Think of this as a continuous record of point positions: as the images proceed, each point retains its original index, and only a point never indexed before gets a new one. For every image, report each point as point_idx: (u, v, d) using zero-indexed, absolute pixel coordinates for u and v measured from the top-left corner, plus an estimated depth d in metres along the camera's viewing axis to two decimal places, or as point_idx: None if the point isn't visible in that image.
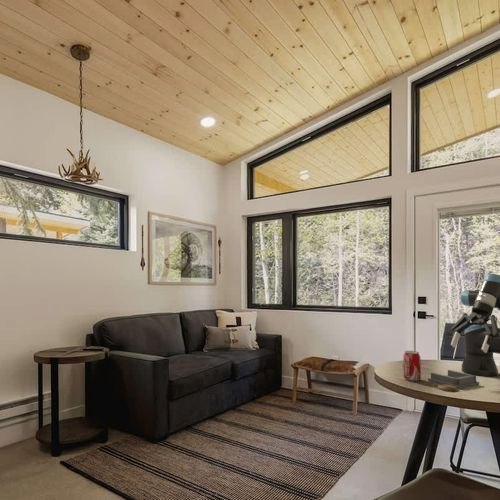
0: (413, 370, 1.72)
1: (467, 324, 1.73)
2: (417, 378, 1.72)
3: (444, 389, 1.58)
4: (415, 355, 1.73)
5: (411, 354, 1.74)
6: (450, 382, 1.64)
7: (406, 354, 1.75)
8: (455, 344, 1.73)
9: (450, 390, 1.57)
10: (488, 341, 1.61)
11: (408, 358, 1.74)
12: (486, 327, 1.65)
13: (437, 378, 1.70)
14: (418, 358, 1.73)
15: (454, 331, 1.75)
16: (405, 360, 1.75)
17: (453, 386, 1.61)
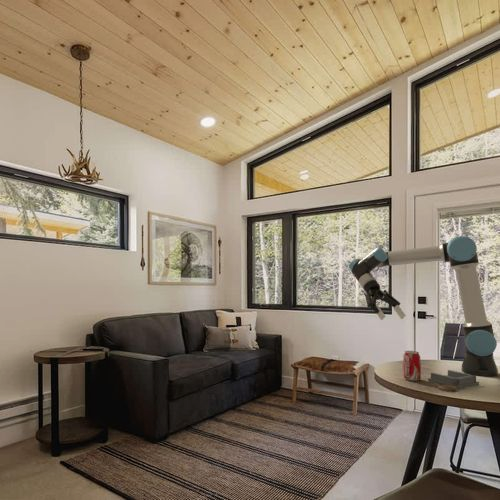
0: (413, 370, 1.72)
1: (385, 300, 1.95)
2: (417, 378, 1.72)
3: (444, 389, 1.58)
4: (415, 355, 1.73)
5: (411, 354, 1.74)
6: (450, 382, 1.64)
7: (406, 354, 1.75)
8: (402, 313, 1.90)
9: (450, 390, 1.57)
10: None
11: (408, 358, 1.74)
12: None
13: (437, 378, 1.70)
14: (418, 358, 1.73)
15: None
16: (405, 360, 1.75)
17: (453, 386, 1.61)
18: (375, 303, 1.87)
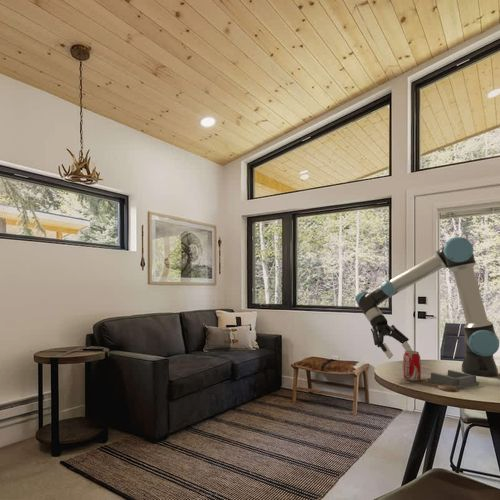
0: (413, 370, 1.72)
1: (393, 336, 1.89)
2: (417, 378, 1.72)
3: (444, 389, 1.58)
4: (415, 355, 1.73)
5: (411, 354, 1.74)
6: (450, 382, 1.64)
7: (406, 354, 1.75)
8: None
9: (450, 390, 1.57)
10: None
11: (408, 358, 1.74)
12: None
13: (437, 378, 1.70)
14: (418, 358, 1.73)
15: None
16: (405, 360, 1.75)
17: (453, 386, 1.61)
18: (382, 341, 1.81)
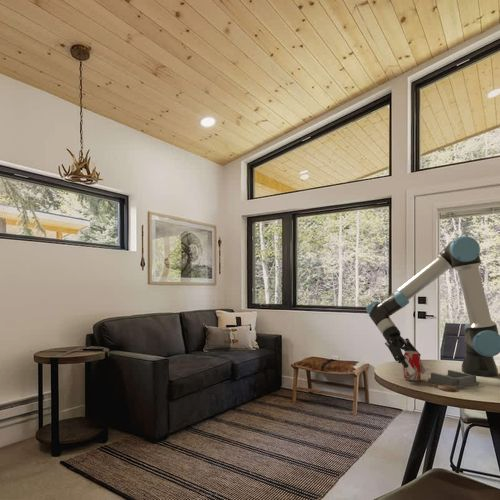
0: None
1: (405, 349, 1.82)
2: (417, 378, 1.72)
3: (444, 389, 1.58)
4: (415, 355, 1.73)
5: (411, 354, 1.74)
6: (450, 382, 1.64)
7: (406, 354, 1.75)
8: (423, 367, 1.75)
9: (450, 390, 1.57)
10: None
11: (408, 358, 1.74)
12: None
13: (437, 378, 1.70)
14: (418, 358, 1.73)
15: None
16: None
17: (453, 386, 1.61)
18: (403, 356, 1.75)
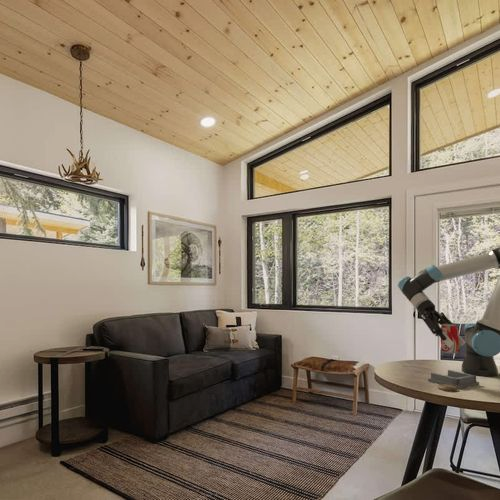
0: None
1: (441, 323, 1.79)
2: (456, 350, 1.69)
3: (444, 389, 1.58)
4: (453, 327, 1.70)
5: (449, 326, 1.70)
6: (450, 382, 1.64)
7: (443, 327, 1.72)
8: (461, 340, 1.71)
9: (450, 390, 1.57)
10: None
11: (446, 330, 1.70)
12: None
13: (437, 378, 1.70)
14: (456, 330, 1.70)
15: None
16: None
17: (453, 386, 1.61)
18: (440, 329, 1.72)
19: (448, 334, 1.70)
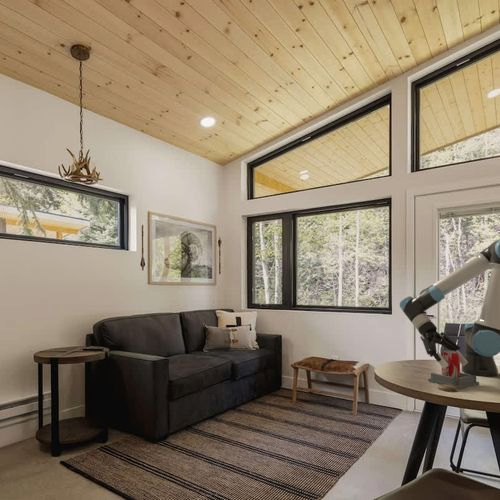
0: (452, 370, 1.68)
1: (443, 344, 1.79)
2: None
3: (444, 389, 1.58)
4: (455, 355, 1.69)
5: (450, 354, 1.69)
6: (450, 382, 1.64)
7: (445, 354, 1.71)
8: (463, 360, 1.73)
9: (450, 390, 1.57)
10: None
11: (447, 358, 1.69)
12: None
13: (437, 378, 1.70)
14: (458, 358, 1.69)
15: None
16: None
17: (453, 386, 1.61)
18: (435, 350, 1.71)
19: (449, 361, 1.69)
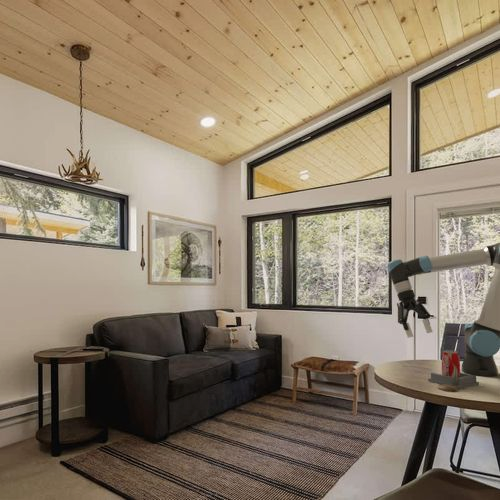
0: (452, 370, 1.68)
1: (416, 311, 1.91)
2: None
3: (444, 389, 1.58)
4: (455, 355, 1.69)
5: (450, 354, 1.69)
6: (450, 382, 1.64)
7: (445, 353, 1.71)
8: (429, 329, 1.89)
9: (450, 390, 1.57)
10: None
11: (447, 358, 1.69)
12: None
13: (437, 378, 1.70)
14: (458, 358, 1.69)
15: None
16: (444, 360, 1.71)
17: (453, 386, 1.61)
18: (406, 320, 1.84)
19: (449, 361, 1.69)
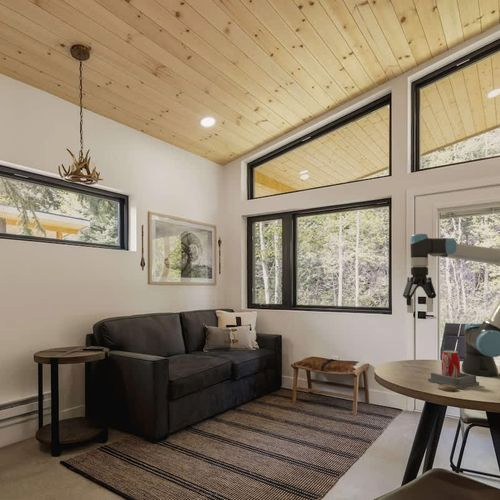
0: (452, 370, 1.68)
1: (424, 288, 1.89)
2: None
3: (444, 389, 1.58)
4: (454, 354, 1.69)
5: (450, 353, 1.69)
6: (450, 382, 1.64)
7: (445, 353, 1.71)
8: (430, 308, 1.89)
9: (450, 390, 1.57)
10: None
11: (447, 358, 1.69)
12: None
13: (437, 378, 1.70)
14: (457, 358, 1.69)
15: None
16: (444, 360, 1.71)
17: (453, 386, 1.61)
18: (411, 295, 1.82)
19: (449, 361, 1.69)
